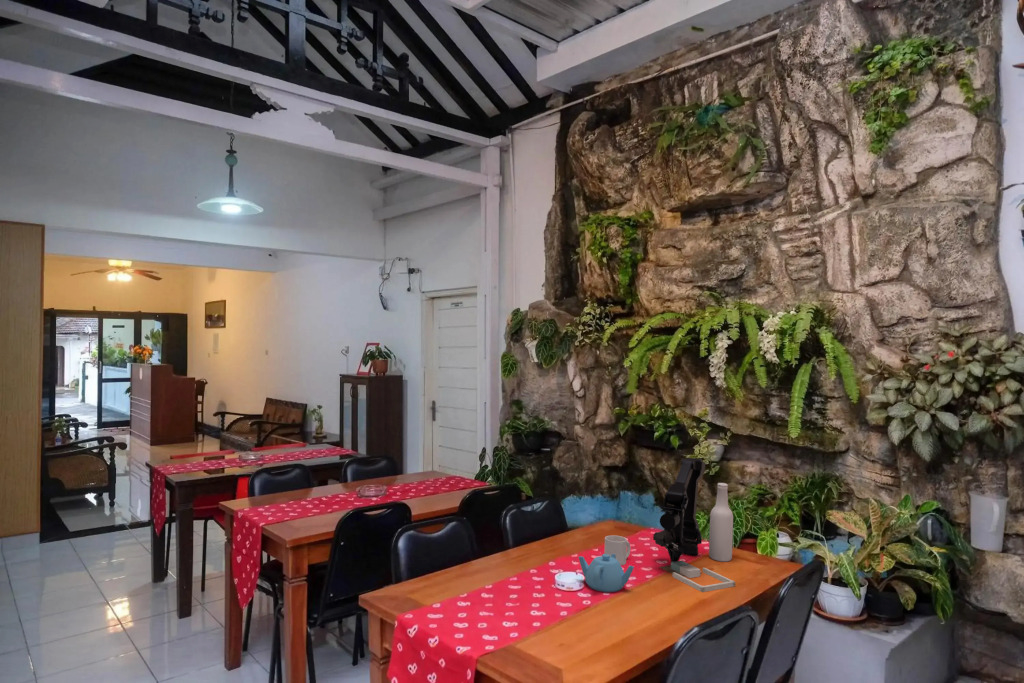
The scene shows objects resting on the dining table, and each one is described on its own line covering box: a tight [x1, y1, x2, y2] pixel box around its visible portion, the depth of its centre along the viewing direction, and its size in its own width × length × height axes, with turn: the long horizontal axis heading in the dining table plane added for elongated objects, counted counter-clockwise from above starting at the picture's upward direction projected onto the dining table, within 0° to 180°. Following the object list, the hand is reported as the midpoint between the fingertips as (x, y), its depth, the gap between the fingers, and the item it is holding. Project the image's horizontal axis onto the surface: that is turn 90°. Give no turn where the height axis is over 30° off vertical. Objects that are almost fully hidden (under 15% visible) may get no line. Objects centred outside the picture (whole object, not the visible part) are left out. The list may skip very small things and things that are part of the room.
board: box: [659, 564, 703, 577], centre depth 231 cm, size 11×11×2 cm
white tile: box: [680, 564, 701, 579], centre depth 226 cm, size 5×5×2 cm
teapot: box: [578, 553, 635, 593], centre depth 217 cm, size 15×15×11 cm
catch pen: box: [672, 567, 736, 593], centre depth 220 cm, size 15×15×3 cm
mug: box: [603, 535, 631, 566], centre depth 239 cm, size 12×8×10 cm
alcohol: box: [708, 482, 734, 563], centre depth 251 cm, size 9×9×30 cm
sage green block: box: [670, 560, 691, 573], centre depth 231 cm, size 5×5×2 cm
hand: (673, 565), depth 234 cm, fingers closed
